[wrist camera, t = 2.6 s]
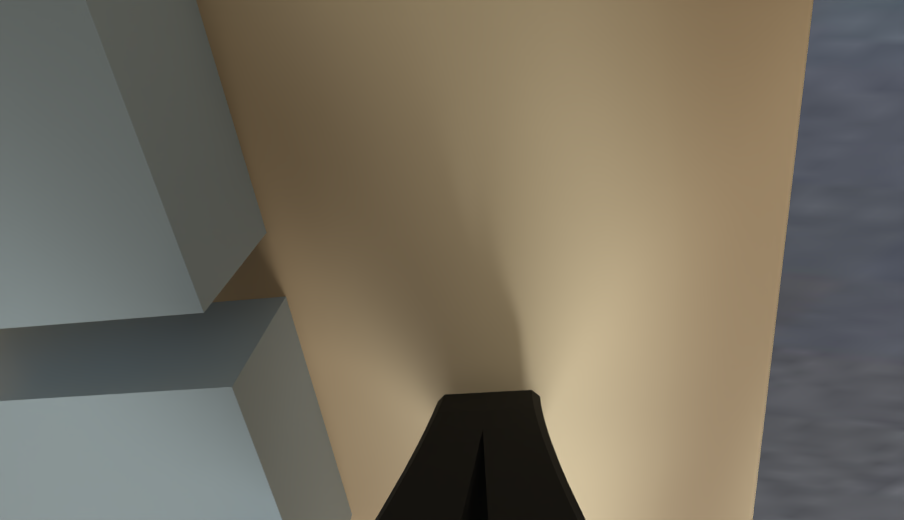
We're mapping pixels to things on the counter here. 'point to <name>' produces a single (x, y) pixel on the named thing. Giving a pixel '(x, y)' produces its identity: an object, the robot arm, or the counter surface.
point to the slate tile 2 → (165, 420)
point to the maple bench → (527, 224)
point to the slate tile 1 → (115, 164)
